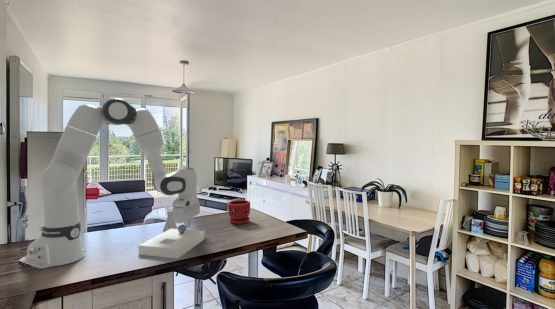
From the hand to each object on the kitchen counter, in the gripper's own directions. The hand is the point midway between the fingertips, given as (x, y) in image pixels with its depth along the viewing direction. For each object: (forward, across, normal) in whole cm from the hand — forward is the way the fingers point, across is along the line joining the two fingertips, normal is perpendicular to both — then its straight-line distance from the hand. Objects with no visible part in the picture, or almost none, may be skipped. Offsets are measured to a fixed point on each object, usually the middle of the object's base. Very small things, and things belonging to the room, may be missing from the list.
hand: (187, 227), depth 145 cm
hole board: (+5, +13, 0) cm, 14 cm away
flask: (+5, -8, -15) cm, 18 cm away
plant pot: (+5, -32, +15) cm, 36 cm away
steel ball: (-1, +6, 0) cm, 6 cm away
